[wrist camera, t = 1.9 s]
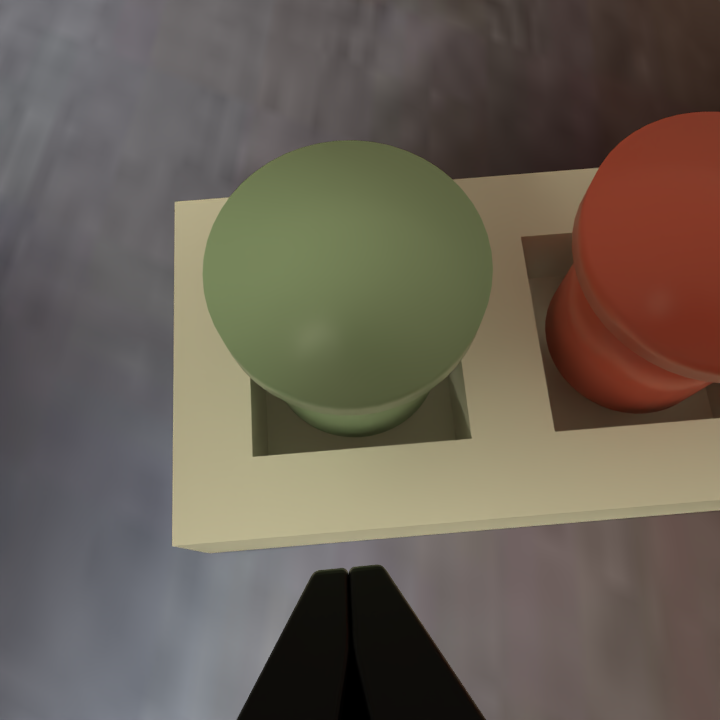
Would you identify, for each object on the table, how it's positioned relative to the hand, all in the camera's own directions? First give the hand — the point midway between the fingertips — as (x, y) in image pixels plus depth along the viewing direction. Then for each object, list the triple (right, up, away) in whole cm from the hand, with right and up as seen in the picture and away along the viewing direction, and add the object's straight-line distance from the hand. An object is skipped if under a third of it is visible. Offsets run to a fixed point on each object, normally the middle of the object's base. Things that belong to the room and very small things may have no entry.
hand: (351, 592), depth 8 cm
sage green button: (0, +3, +11) cm, 12 cm away
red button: (+8, +4, +11) cm, 14 cm away
